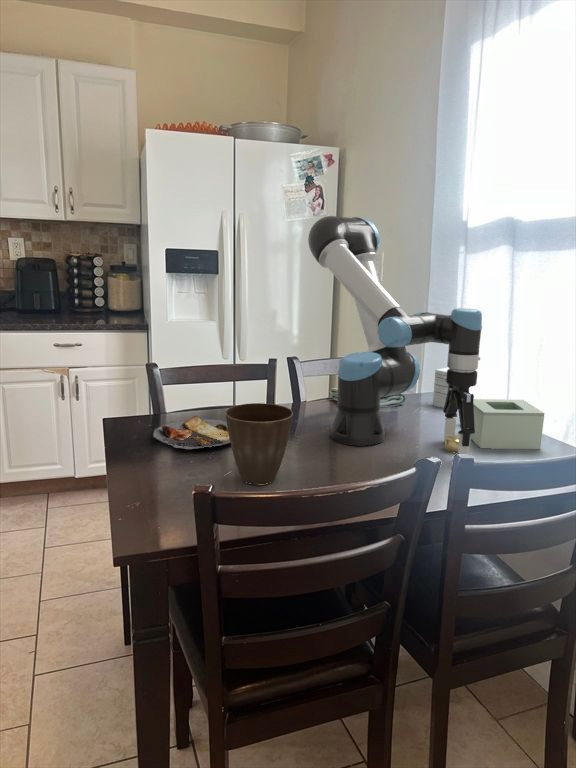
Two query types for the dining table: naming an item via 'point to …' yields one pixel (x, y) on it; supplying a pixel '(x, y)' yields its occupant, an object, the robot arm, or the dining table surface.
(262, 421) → the plant pot
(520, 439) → the box
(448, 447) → the gold squat cylinder
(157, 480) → the dining table surface
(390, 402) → the towel
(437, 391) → the supplement box
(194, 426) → the food plate
